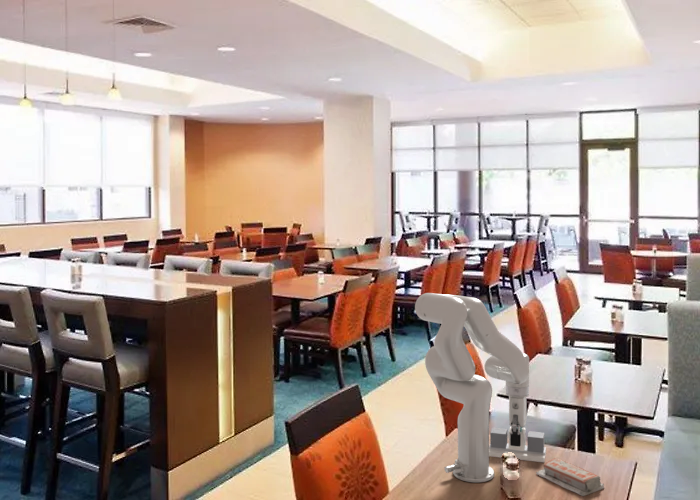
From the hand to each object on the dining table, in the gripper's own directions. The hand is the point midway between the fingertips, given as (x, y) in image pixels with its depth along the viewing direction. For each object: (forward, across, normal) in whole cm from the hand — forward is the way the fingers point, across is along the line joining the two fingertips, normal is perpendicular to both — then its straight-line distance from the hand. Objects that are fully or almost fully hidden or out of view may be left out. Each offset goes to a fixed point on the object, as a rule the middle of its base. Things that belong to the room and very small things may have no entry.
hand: (516, 440), depth 221 cm
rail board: (+5, 0, 0) cm, 5 cm away
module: (+2, 0, 0) cm, 2 cm away
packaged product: (+6, -16, -17) cm, 24 cm away
